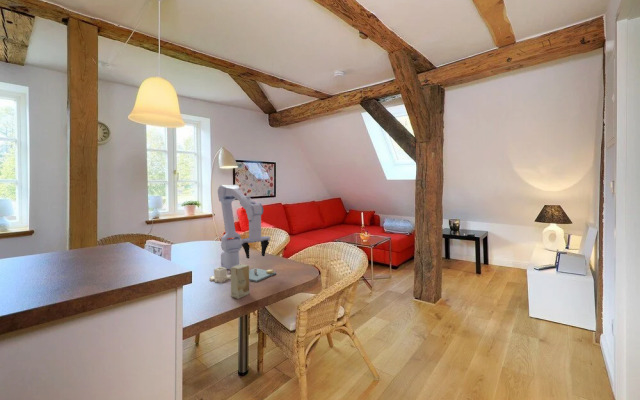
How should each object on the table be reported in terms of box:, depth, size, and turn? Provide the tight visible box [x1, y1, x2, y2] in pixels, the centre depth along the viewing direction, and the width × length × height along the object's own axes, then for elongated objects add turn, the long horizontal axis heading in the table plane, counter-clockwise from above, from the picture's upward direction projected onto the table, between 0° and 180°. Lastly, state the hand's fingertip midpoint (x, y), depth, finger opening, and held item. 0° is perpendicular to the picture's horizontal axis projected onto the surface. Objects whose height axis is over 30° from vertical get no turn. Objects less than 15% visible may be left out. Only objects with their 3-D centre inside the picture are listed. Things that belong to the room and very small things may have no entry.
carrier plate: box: [249, 267, 277, 283], centre depth 149 cm, size 14×14×4 cm
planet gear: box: [209, 266, 231, 283], centre depth 144 cm, size 9×9×5 cm
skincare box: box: [230, 263, 250, 299], centre depth 123 cm, size 6×4×12 cm
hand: (255, 257), depth 146 cm, fingers open, 7 cm apart
